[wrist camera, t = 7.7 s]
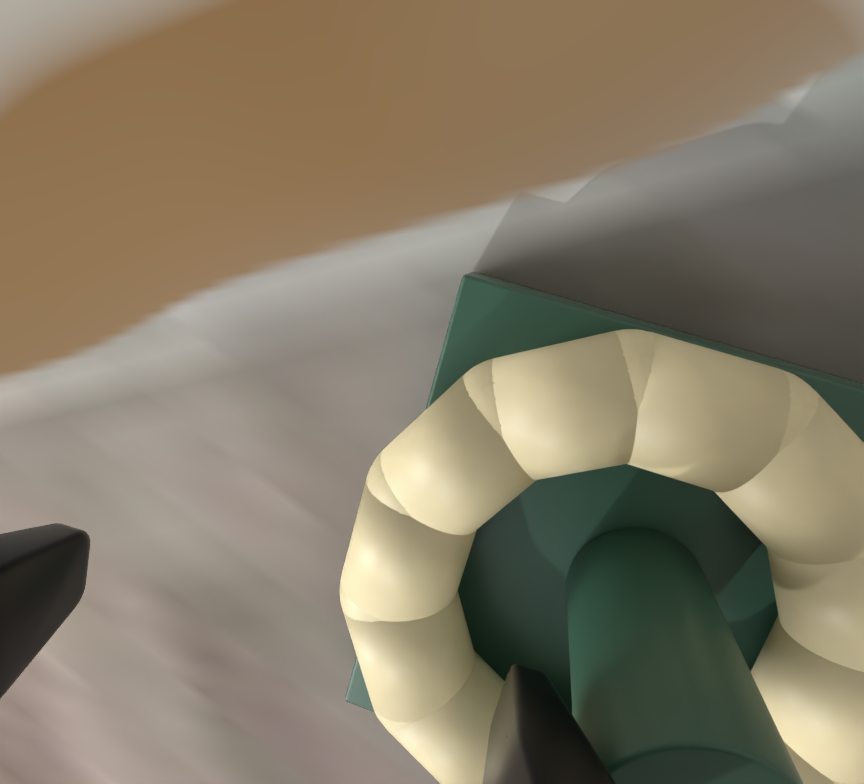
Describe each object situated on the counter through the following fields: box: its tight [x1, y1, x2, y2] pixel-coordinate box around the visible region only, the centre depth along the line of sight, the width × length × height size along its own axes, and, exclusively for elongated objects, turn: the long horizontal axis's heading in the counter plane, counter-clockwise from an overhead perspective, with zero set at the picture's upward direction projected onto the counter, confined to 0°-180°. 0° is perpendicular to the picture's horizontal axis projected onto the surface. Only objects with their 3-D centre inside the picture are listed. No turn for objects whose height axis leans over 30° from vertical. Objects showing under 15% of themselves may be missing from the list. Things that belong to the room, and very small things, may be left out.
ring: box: [340, 329, 864, 784], centre depth 10 cm, size 9×9×2 cm
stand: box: [346, 272, 864, 784], centre depth 9 cm, size 9×9×6 cm
